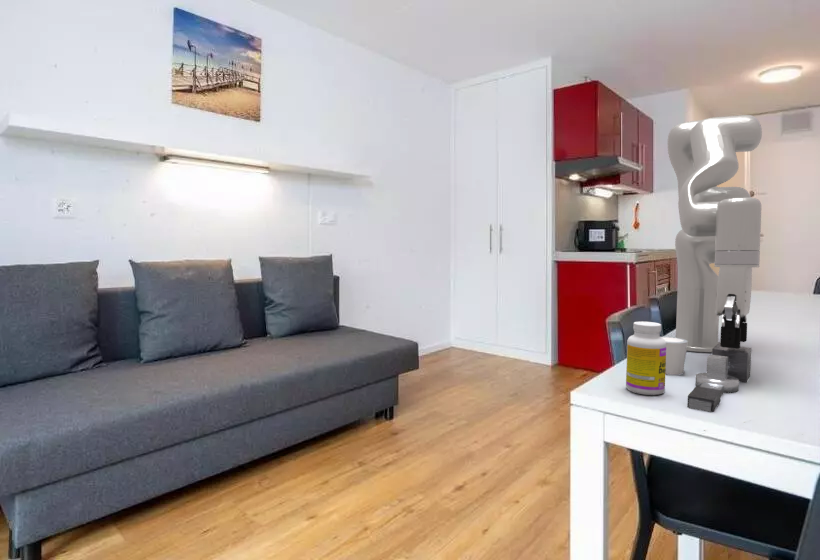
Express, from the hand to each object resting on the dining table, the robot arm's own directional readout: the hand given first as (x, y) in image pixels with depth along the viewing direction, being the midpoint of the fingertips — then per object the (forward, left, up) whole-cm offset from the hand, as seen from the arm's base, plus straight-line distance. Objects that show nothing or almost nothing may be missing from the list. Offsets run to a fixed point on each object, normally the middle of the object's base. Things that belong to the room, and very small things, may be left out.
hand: (733, 344), depth 98 cm
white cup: (+2, -11, -7) cm, 14 cm away
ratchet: (+15, -1, -7) cm, 17 cm away
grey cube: (-1, 0, -7) cm, 7 cm away
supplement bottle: (+20, -11, -7) cm, 24 cm away
